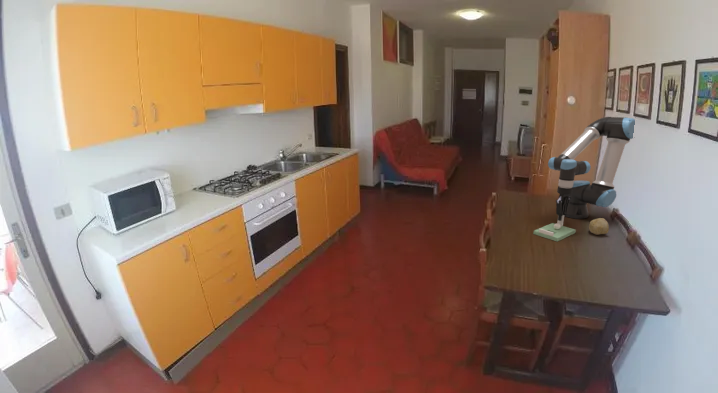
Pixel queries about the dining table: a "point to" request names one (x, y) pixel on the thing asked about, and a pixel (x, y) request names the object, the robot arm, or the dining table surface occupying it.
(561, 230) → the mat
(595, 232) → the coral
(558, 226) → the ball
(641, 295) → the dining table surface
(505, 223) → the dining table surface
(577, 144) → the robot arm
